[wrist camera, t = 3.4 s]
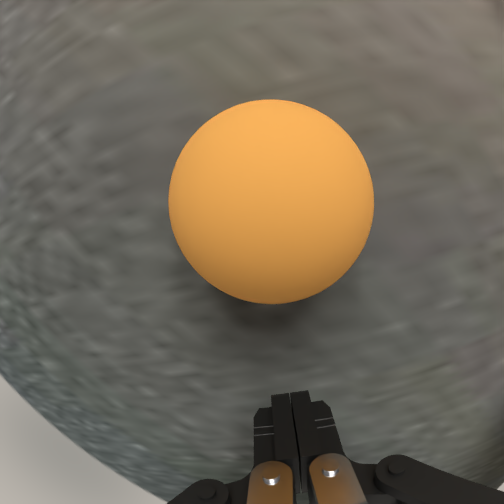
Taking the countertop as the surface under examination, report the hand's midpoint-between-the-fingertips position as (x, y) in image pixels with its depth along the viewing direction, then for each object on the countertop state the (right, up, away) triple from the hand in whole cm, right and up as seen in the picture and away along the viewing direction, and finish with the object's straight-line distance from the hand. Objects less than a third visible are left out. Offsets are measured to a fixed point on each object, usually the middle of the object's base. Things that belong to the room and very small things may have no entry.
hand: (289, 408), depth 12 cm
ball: (-1, +8, -3) cm, 8 cm away
